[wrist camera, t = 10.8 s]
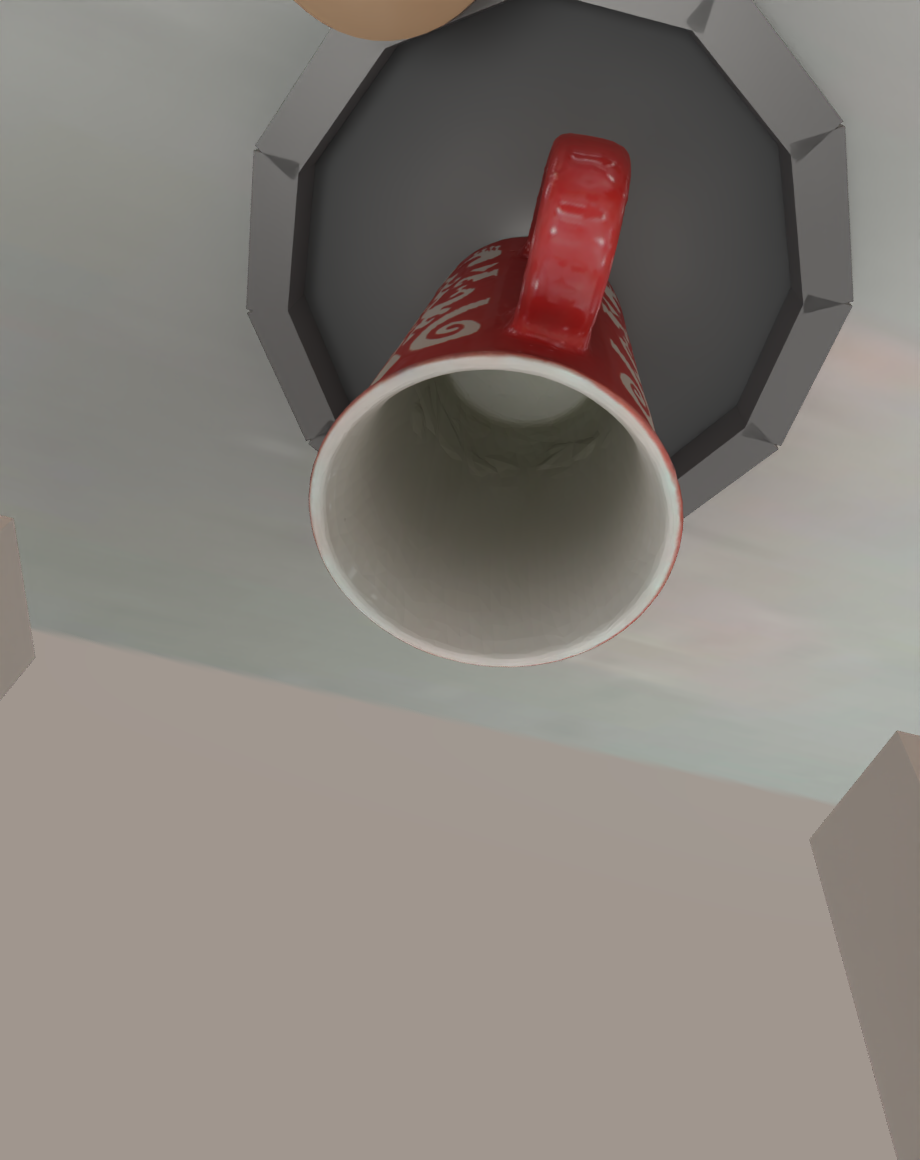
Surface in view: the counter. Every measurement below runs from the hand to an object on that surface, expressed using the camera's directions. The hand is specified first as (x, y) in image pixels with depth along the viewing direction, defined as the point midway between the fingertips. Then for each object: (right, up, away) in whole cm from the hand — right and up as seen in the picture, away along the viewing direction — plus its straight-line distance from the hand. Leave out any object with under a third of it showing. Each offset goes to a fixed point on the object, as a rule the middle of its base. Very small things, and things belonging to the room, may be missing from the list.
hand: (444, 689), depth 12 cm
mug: (+3, +12, +17) cm, 21 cm away
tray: (+3, +13, +18) cm, 22 cm away
